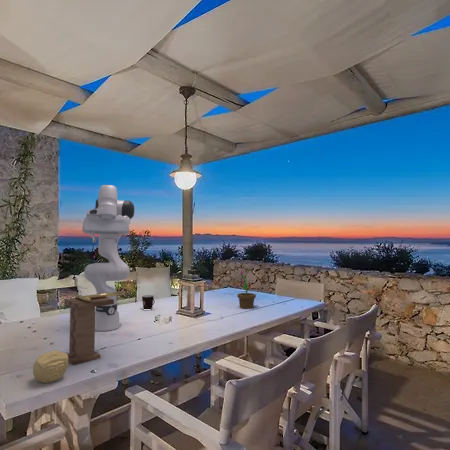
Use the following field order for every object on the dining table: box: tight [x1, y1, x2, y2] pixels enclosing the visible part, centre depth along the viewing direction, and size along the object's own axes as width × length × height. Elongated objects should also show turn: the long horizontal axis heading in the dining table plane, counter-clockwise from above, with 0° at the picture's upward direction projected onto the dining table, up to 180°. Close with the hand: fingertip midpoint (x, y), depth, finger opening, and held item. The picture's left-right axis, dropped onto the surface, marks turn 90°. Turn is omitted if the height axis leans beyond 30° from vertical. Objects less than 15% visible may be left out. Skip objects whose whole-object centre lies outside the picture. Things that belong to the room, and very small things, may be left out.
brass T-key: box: [74, 290, 126, 302], centre depth 161 cm, size 14×22×2 cm, turn 136°
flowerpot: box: [236, 269, 257, 310], centre depth 262 cm, size 14×14×30 cm
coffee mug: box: [141, 294, 156, 309], centre depth 252 cm, size 12×9×10 cm
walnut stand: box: [64, 297, 114, 366], centre depth 155 cm, size 16×17×26 cm
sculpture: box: [32, 349, 69, 384], centre depth 130 cm, size 11×12×11 cm
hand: (105, 242), depth 151 cm, fingers open, 8 cm apart
